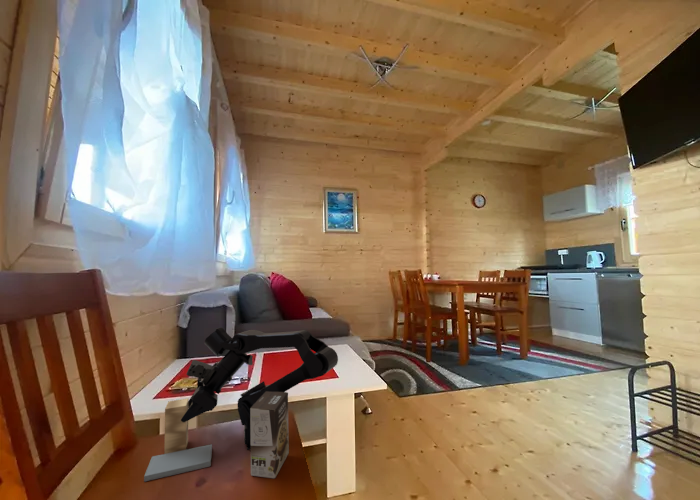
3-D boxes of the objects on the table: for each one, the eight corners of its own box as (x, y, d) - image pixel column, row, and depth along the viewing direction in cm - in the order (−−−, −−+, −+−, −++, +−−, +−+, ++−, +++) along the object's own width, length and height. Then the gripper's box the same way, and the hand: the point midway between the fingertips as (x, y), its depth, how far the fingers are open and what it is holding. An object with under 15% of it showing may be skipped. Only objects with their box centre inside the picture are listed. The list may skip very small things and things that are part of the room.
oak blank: (188, 441, 88) (188, 398, 88) (185, 451, 83) (186, 405, 84) (167, 445, 86) (168, 401, 87) (164, 455, 81) (165, 409, 82)
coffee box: (275, 479, 72) (274, 410, 71) (249, 476, 73) (248, 408, 72) (289, 452, 81) (289, 391, 80) (266, 450, 82) (265, 389, 81)
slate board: (212, 448, 84) (212, 444, 84) (210, 466, 77) (210, 461, 77) (151, 461, 79) (152, 456, 79) (144, 481, 72) (144, 476, 72)
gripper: (208, 342, 97) (167, 384, 93) (202, 358, 80) (152, 410, 75) (235, 365, 100) (197, 406, 95) (235, 385, 82) (188, 437, 78)
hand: (184, 413), depth 86 cm, fingers open, 9 cm apart
